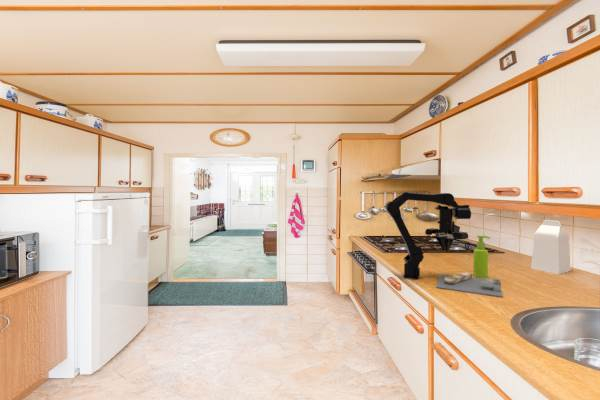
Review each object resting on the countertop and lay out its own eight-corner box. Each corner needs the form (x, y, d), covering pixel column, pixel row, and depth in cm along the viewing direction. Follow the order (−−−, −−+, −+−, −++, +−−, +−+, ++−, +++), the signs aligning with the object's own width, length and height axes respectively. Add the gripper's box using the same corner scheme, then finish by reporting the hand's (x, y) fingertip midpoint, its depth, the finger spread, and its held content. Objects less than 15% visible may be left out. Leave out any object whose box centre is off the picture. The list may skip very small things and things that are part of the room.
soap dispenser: (487, 279, 137) (488, 237, 136) (471, 276, 142) (472, 235, 141) (491, 276, 141) (492, 236, 140) (475, 273, 146) (476, 234, 145)
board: (436, 288, 126) (436, 286, 126) (440, 274, 145) (440, 273, 145) (503, 297, 114) (503, 296, 114) (497, 281, 133) (497, 280, 133)
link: (451, 285, 128) (451, 278, 127) (442, 282, 131) (442, 276, 131) (473, 278, 136) (473, 272, 136) (464, 276, 140) (464, 270, 140)
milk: (531, 268, 154) (531, 220, 153) (543, 265, 159) (543, 218, 158) (558, 274, 144) (559, 222, 143) (570, 271, 148) (571, 220, 147)
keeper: (481, 290, 122) (481, 280, 122) (480, 286, 127) (481, 277, 127) (500, 293, 119) (500, 282, 119) (499, 289, 124) (499, 279, 123)
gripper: (475, 219, 135) (474, 252, 135) (438, 216, 151) (438, 246, 152) (461, 221, 129) (460, 255, 130) (424, 217, 145) (424, 248, 146)
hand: (445, 251), depth 139 cm, fingers closed
